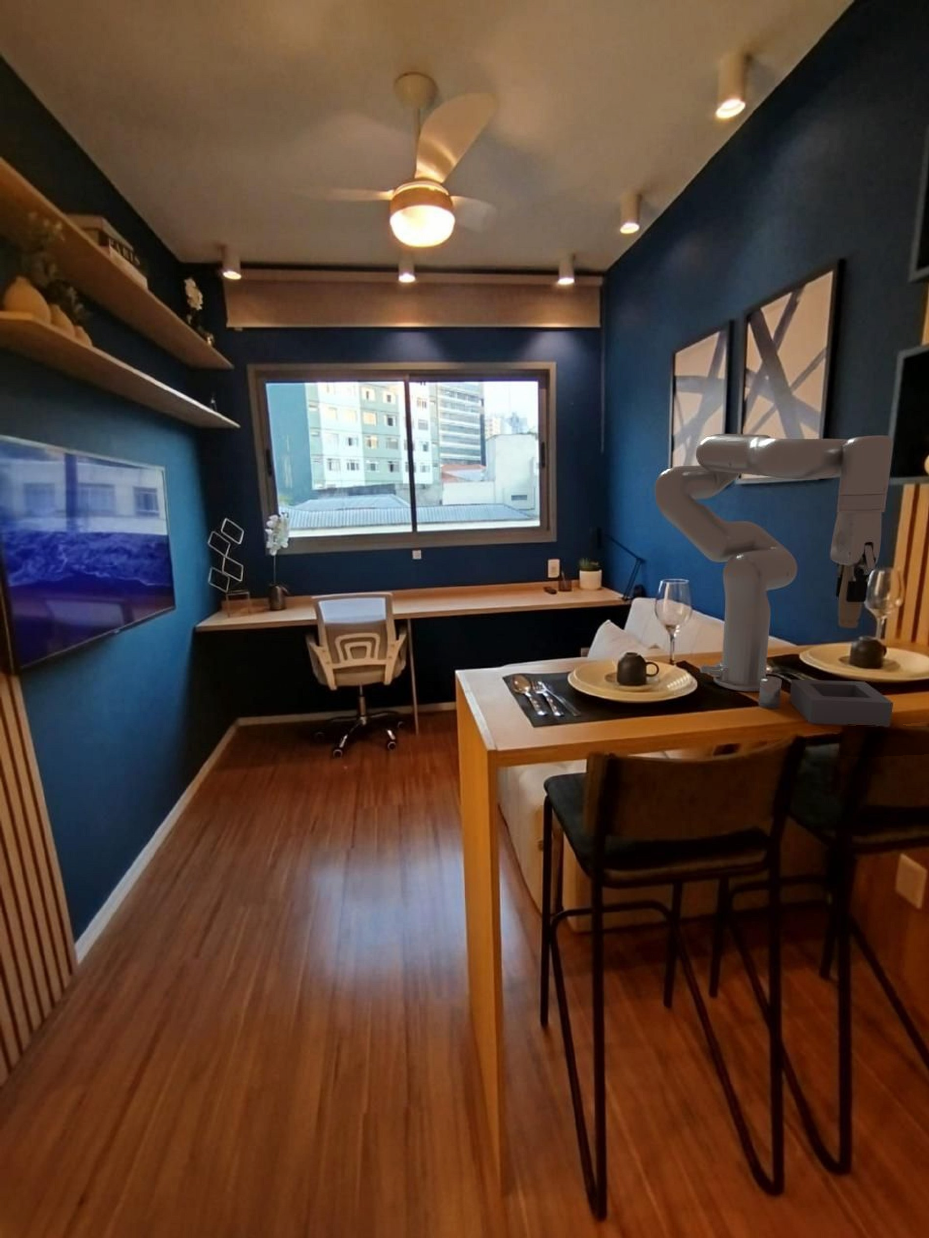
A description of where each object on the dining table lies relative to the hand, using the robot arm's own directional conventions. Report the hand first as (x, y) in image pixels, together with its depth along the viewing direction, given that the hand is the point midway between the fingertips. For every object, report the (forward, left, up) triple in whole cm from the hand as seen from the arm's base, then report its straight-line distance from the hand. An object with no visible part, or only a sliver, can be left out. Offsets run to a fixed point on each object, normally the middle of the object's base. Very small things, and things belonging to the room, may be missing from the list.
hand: (850, 598), depth 111 cm
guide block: (0, 0, -24) cm, 24 cm away
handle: (0, 0, -6) cm, 6 cm away
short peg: (-12, +3, -24) cm, 27 cm away
